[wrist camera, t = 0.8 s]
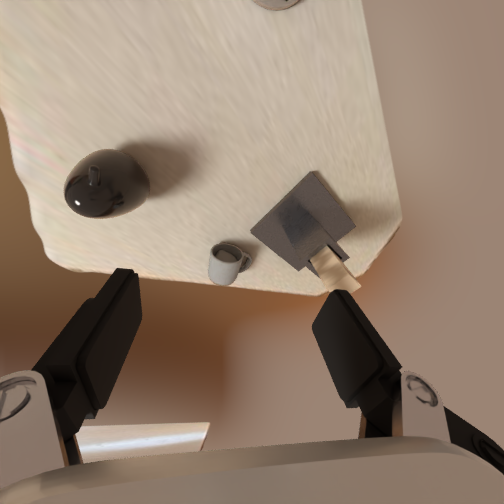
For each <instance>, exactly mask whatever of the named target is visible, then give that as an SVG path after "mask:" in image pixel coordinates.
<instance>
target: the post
mask: <svg viewBox="0 0 504 504" xmlns="http://www.w3.org/2000/svg"><path fill="white" fill-rule="evenodd" d="M310 261H311V263H312V264H313V266H314V268H315V270H316V271H317V273H318V275H319V277H320V278H321V280H322V282H323V284H324V285H325V287H326V289H327V290H328V291H329V292H332V291H333V290H335V289H342V290H347V291H348V292H349V293H350V294H351V293H352V292H354V291H355V290H357V289H358V288H360V287H361V285H360V284H359V282H358V281H357V280H356V279H355V277H354V276H353V275H352V274H351V272H350V271H349V270H348V268H347V267H346V266H345V265H344V263H343V262H342V261H341V260H340V258H339V257H338V256H337V255H336V253H335V252H334V251H333V249H332V248H331V247H330V245H329V244H328V245H327V246H326V247H324V248H323V249H322V250H321V251H319V252H318V253H317V254H316V255H314V256H313V257H312V258H311V259H310Z"/></svg>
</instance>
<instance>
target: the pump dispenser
mask: <svg viewBox="0 0 504 504" xmlns="http://www.w3.org/2000/svg"><path fill="white" fill-rule="evenodd" d="M149 192H150V184H149V179H148V176H147V174H146V172H145V170H144V169H143V167H142V166H141V165H140V164H139V163H138V162H137V161H136V160H135V159H133V158H132V157H130V156H129V155H127V154H125V153H123V152H121V151H118V150H113V149H102V150H98V151H95V152H93V153H91V154H89V155H88V156H86V157H85V158H83V159H82V160H81V161H80V162H79V163H78V164H77V165H76V166H75V167H74V168H73V169H72V171H71V172H70V174H69V175H68V177H67V179H66V181H65V184H64V198H65V201H66V203H67V204H68V206H69V207H70V208H71V209H72V210H73V211H74V212H76V213H77V214H79V215H82V216H84V217H88V218H94V219H106V218H113V217H117V216H121V215H124V214H126V213H129V212H131V211H133V210H135V209H136V208H138V207H140V206H141V205H142V204H143V203H144V202H145V201H146V200H147V198H148V196H149Z"/></svg>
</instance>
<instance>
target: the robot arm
mask: <svg viewBox="0 0 504 504" xmlns="http://www.w3.org/2000/svg"><path fill="white" fill-rule="evenodd" d="M253 1H254V2H255V3H257V4H258V5H259V6H261V7H264V8H266V9H269V10H282V9H286V8H288V7H290V6H292V5H294V4H295V3H296V2H298V1H299V0H287V2H286V1H285V0H253ZM141 320H142V308H141V298H140V288H139V277H138V273H134V271H133V270H132V269H123V268H117V269H116V270H115V271H114V272H113V274H112V275H111V276H110V278H109V279H108V281H107V282H106V283H105V285H104V286H103V287H102V289H101V290H100V291H99V293H98V294H97V295H96V297H95V298H89V299H87V300H86V301H85V302H84V303H83V304H82V306H81V307H80V308H79V310H78V311H77V312H76V314H75V315H74V316H73V317H72V319H71V320H70V321H69V322H68V324H67V325H66V326H65V327H64V329H63V330H62V331H61V333H60V334H59V335H58V336H57V338H56V339H55V340H54V342H53V343H52V344H51V345H50V347H49V348H48V349H47V350H46V352H45V353H44V354H43V356H42V357H41V358H40V360H39V361H38V362H37V363H36V365H35V366H34V367H33V368H32V370H31V371H27V370H26V371H20V372H15V373H12V374H9V375H7V376H4V377H2V378H0V504H504V450H503V449H502V448H501V447H500V446H499V445H497V444H496V443H495V442H494V441H493V440H492V439H491V438H489V437H488V436H487V435H485V434H484V433H482V432H481V431H479V430H478V429H477V428H475V427H474V426H472V425H471V424H469V423H468V422H466V421H465V420H463V419H462V418H460V417H459V416H458V415H456V414H454V413H453V412H452V411H450V410H449V409H447V408H446V407H444V406H443V402H442V400H441V397H440V396H439V394H438V392H437V391H436V390H435V388H434V387H433V386H432V385H431V384H430V383H429V382H428V381H427V380H426V379H424V378H423V377H421V376H420V375H418V374H416V373H414V372H411V371H404V372H403V373H402V374H401V372H400V371H399V370H400V369H401V368H402V366H401V364H400V363H399V362H398V360H397V359H396V358H395V356H394V355H393V354H392V352H391V350H390V349H389V348H388V346H387V345H386V343H385V342H384V341H383V339H382V338H381V337H380V335H379V334H378V332H377V331H376V330H375V328H374V327H373V325H372V324H371V323H370V321H369V320H368V318H367V317H366V316H365V314H364V313H363V311H362V310H361V309H360V307H359V306H358V304H357V303H356V302H355V300H354V299H353V297H352V296H351V295H350V293H349V292H348V291H347V290H342V289H335V290H333V291H332V292H331V293H330V294H329V296H328V298H327V299H326V301H325V303H324V305H323V306H322V308H321V310H320V312H319V313H318V315H317V317H316V319H315V320H314V322H313V324H312V330H313V333H314V336H315V338H316V340H317V343H318V345H319V348H320V350H321V353H322V355H323V357H324V360H325V362H326V365H327V367H328V369H329V372H330V374H331V377H332V379H333V382H334V384H335V387H336V389H337V392H338V394H339V396H340V398H341V399H342V400H343V401H344V403H345V405H346V407H347V408H357V407H358V406H359V407H360V409H361V411H362V413H361V420H360V428H359V436H358V439H350V440H337V441H323V442H309V443H297V444H285V445H271V446H259V447H246V448H235V449H222V450H211V451H198V452H186V453H174V454H163V455H152V456H143V457H133V458H124V459H114V460H104V461H98V462H91V463H85V464H84V463H83V460H82V456H81V453H80V449H79V446H78V442H77V439H76V435H75V434H76V433H77V432H79V429H80V427H81V425H82V423H83V421H84V419H95V417H96V415H97V412H98V410H99V409H103V408H104V407H105V405H106V404H107V401H108V399H109V397H110V394H111V392H112V389H113V387H114V385H115V382H116V380H117V378H118V375H119V373H120V371H121V368H122V366H123V363H124V361H125V359H126V356H127V354H128V351H129V349H130V347H131V344H132V342H133V340H134V337H135V335H136V333H137V330H138V328H139V325H140V323H141Z"/></svg>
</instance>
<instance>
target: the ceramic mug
mask: <svg viewBox="0 0 504 504" xmlns="http://www.w3.org/2000/svg"><path fill="white" fill-rule="evenodd" d="M244 256H245V257H248V259H247V261H246V263H245V265H244V266H242V267H241V268H240V266H241V263H242V261H243V257H244ZM251 262H252V258H251V257H250V255H249V254H248V253H246V252H242V251H241V250H240V249H239V248H238V247H236V246H234V245H232V244H227V243H220V244H216V245H215V246H213V247H212V249H211V252H210V260H209V267H208V276H209V278H210V280H211V281H212V282H213V283H215V284H216V285H220V286H227V285H230V284H232V283H233V282H234V281H235V279H236V278H237V275H238V273H241V272H243V271H245V270H247V269H248V268H249V266H250V265H251Z"/></svg>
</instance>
